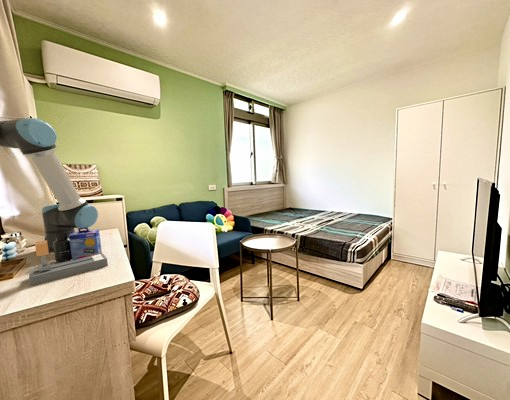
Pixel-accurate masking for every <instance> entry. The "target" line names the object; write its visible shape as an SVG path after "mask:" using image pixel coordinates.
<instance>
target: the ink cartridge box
mask: <svg viewBox="0 0 510 400" xmlns="http://www.w3.org/2000/svg"><path fill="white" fill-rule="evenodd" d="M69 239H70V246H71V254H72V260H76V259H80V258H85V257H89V256H94V255H98V254H102V253H103V251H102V243H101V235H100V230H99V229H93V230H90V229H89V227H86V228H77V231H75V232H74V233H72V234H70V235H69ZM72 260H71V261H72Z"/></svg>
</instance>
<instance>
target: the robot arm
mask: <svg viewBox="0 0 510 400" xmlns="http://www.w3.org/2000/svg"><path fill="white" fill-rule="evenodd" d="M57 136H58V135H57V133H56V131H55V129H54V128H53V127H52V126H51V125H50V124H49V123H48V122H46V121H44V120H42V119H39V118H36V117H35V118H31V117H27V118H26V117H23V118H19V119H11V120H1V121H0V147H3V148H10V149H19V150H20V152H21V153H22V155H23V156H25V157H27V158H30V160H31V161H32V163H33V164H34V166H35V167H36V169H37V171H38V172H39V174H40V175H41V178H42V179H43V180H44V182H45V183H46V185H47V187H48V188H49V189H50V192H51V193H52V195H53V196H54V198H55V200H56V201H57V202H58V203H57V204H51V205H45V206H43V207H42V209H41V215H42V220H43V226H44V233H45V236H44V239H43V241H44V240H47V243H48V250H49V252H54V246H53V243H54V241H56V240H57V239H56V236H55V235H56V234H59V233H66V232H69V233H70V234H72V233H74V232H76V231H75V229H78V228H86V227H88V228H90V227H92V226H94V225H95V223H96V222H97V220H98V217H99V212H98V211H99V210H98V209H97V207H95V206H93V205H91V204H88V201H87V200H86V199H85V198H83V197H80V194H79V193H78V191H77V189H76V186H75V185H74V184H73V182H72V180H71V178H70V177H69V175H68V173H67V171H66V170H65V168H64V166H63V164H62V163H61V160H60V159H59V157H58V155H57V153H56V151H57V148H58V147H57V145H56V142H57V139H58V137H57Z"/></svg>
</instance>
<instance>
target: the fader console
mask: <svg viewBox="0 0 510 400" xmlns="http://www.w3.org/2000/svg"><path fill="white" fill-rule="evenodd" d="M108 263H109V262H108V258H107V257H106V256H105V254H104V253H103V252H102V254H98V255H94V256H89V257H85V258H80V259H76V260H70V261H66V262H58V263H55V264H51V269H50V270H45V271H41V272H39V267H38V268H32V269H30V270H29V276H28V281H29V287H31V286H32V287H33V286H37V285H40V284H44V283H47V282H51V281H55V280H58V279H63V278H65V277H66V278H67V277H70V276H75V275H77V274H81V273H85V272H89V271H93V270H97V269H100V268H104V267H107V266H108Z"/></svg>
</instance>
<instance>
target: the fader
mask: <svg viewBox="0 0 510 400" xmlns="http://www.w3.org/2000/svg"><path fill="white" fill-rule="evenodd" d="M34 246H35V253H36V257H40V260H41V263H40V264H38V268H39V272H41V271H45V270H50V269H51V265H52V264H51V262H47V261H48V260H47V255H49V254H50V253H49V252H50V251H49V250H48V243H47V240H44V239H43V240H40V241H35V244H34Z"/></svg>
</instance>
